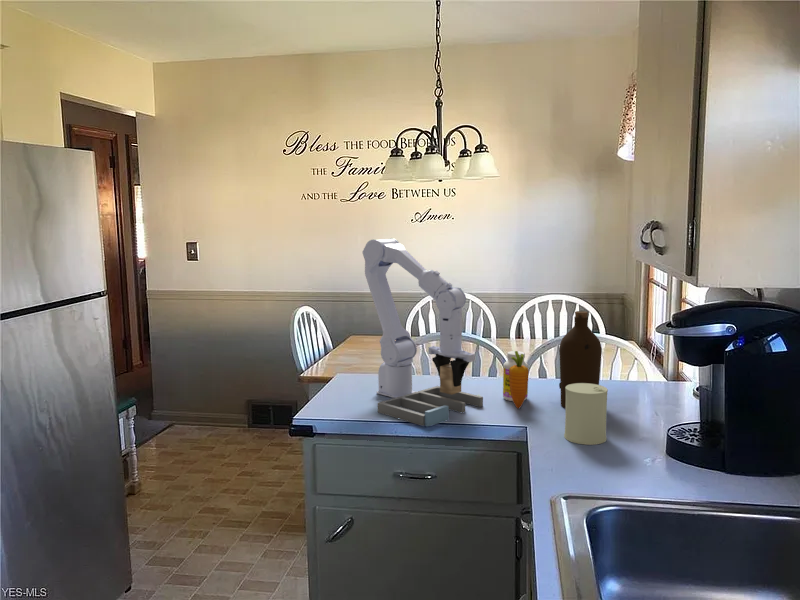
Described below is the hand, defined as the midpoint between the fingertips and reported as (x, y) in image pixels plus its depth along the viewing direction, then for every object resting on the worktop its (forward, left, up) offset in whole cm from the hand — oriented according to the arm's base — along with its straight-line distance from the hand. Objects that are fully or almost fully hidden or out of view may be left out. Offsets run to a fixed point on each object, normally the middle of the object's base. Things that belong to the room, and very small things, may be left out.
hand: (450, 384), depth 175 cm
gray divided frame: (0, -7, -5) cm, 9 cm away
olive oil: (+26, +22, -6) cm, 34 cm away
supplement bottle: (+10, +16, -6) cm, 19 cm away
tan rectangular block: (0, 0, -2) cm, 2 cm away
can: (+40, +1, -6) cm, 40 cm away
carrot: (+16, +9, -6) cm, 19 cm away
